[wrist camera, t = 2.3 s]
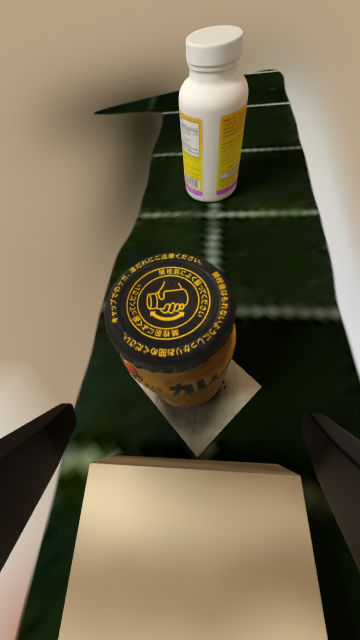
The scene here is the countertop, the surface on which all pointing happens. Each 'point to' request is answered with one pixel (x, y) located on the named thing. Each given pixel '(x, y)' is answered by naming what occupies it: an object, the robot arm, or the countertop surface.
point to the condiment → (180, 342)
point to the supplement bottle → (213, 112)
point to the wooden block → (192, 554)
